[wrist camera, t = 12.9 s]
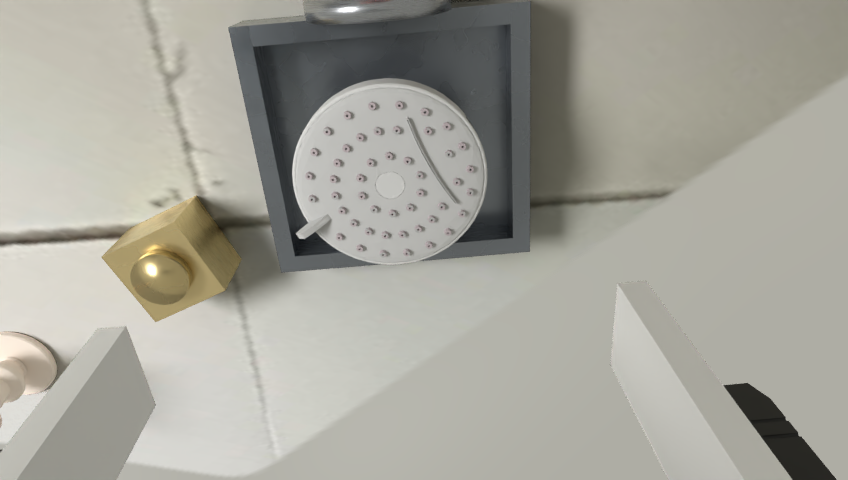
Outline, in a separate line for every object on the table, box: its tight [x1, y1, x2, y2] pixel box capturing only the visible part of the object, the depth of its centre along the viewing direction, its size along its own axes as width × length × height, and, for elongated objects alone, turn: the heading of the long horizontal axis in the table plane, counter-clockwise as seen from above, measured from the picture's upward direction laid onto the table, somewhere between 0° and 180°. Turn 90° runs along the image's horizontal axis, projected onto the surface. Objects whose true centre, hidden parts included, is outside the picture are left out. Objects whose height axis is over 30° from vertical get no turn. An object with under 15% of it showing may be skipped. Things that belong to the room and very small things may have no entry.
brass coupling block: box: [102, 196, 242, 322], centre depth 35 cm, size 5×5×5 cm
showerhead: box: [292, 78, 487, 265], centre depth 31 cm, size 9×7×10 cm
